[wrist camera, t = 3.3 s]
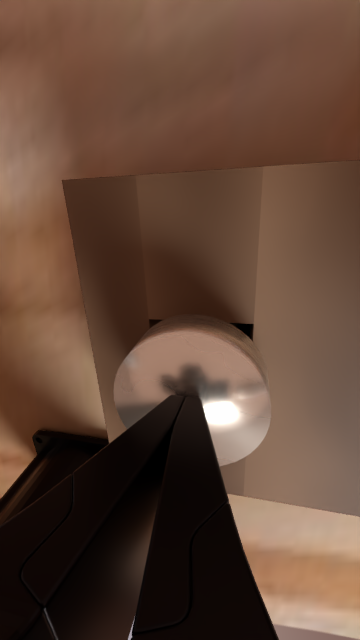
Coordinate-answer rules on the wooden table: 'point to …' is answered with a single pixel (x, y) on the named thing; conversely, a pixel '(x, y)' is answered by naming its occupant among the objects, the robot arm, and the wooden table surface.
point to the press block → (240, 301)
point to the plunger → (200, 380)
